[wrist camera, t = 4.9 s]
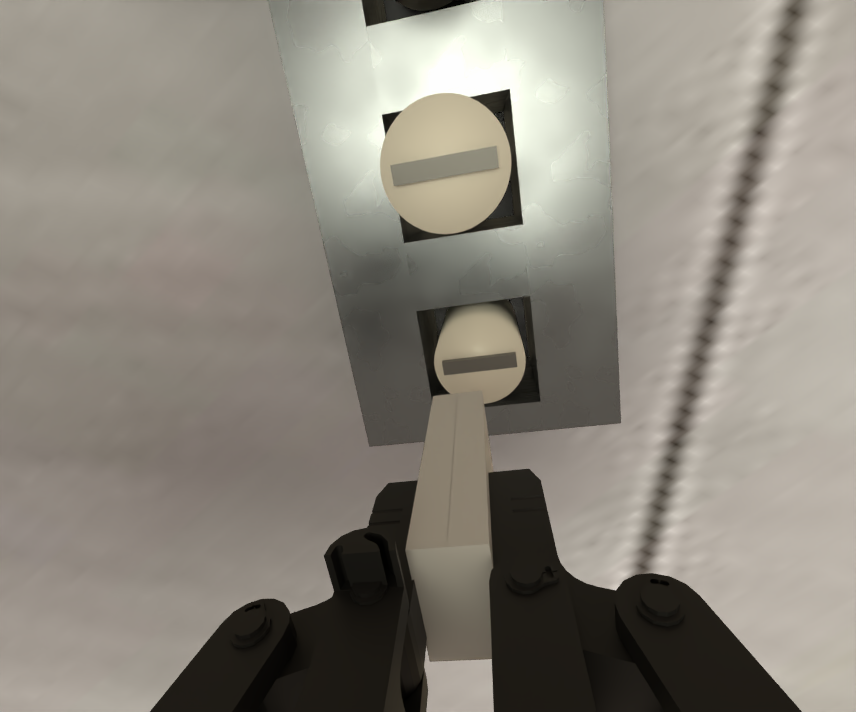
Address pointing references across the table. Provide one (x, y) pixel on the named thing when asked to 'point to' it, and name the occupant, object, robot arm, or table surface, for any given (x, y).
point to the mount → (489, 240)
